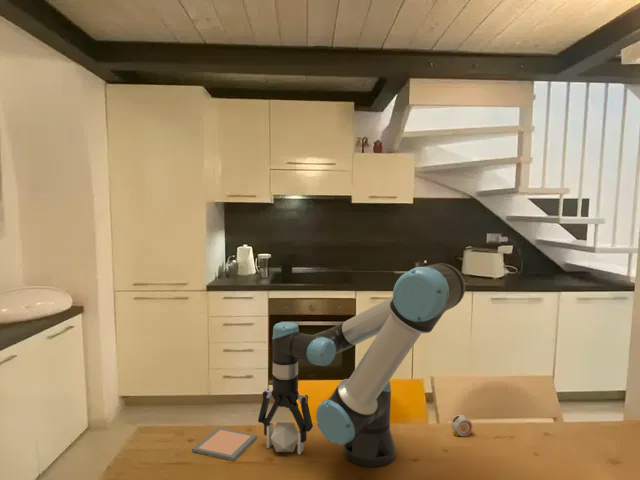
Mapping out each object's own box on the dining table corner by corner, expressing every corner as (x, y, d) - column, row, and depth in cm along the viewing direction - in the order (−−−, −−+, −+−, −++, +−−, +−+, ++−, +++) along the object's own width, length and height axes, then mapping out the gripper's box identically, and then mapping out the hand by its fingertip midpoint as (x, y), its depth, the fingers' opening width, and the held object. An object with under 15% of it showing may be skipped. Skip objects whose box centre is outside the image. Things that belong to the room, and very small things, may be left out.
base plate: (256, 438, 144) (256, 435, 144) (233, 461, 130) (233, 457, 130) (218, 430, 148) (218, 427, 148) (192, 452, 135) (191, 448, 135)
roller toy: (474, 436, 146) (474, 419, 146) (455, 438, 145) (456, 420, 144) (467, 430, 150) (467, 412, 150) (449, 431, 149) (449, 414, 149)
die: (287, 462, 131) (305, 431, 134) (262, 445, 132) (280, 415, 135) (289, 458, 139) (306, 429, 141) (265, 442, 140) (282, 413, 143)
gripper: (324, 375, 135) (324, 449, 137) (257, 366, 143) (257, 436, 144) (316, 385, 128) (315, 462, 130) (246, 374, 136) (246, 448, 137)
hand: (285, 448), depth 137 cm, fingers closed on die, 9 cm apart
